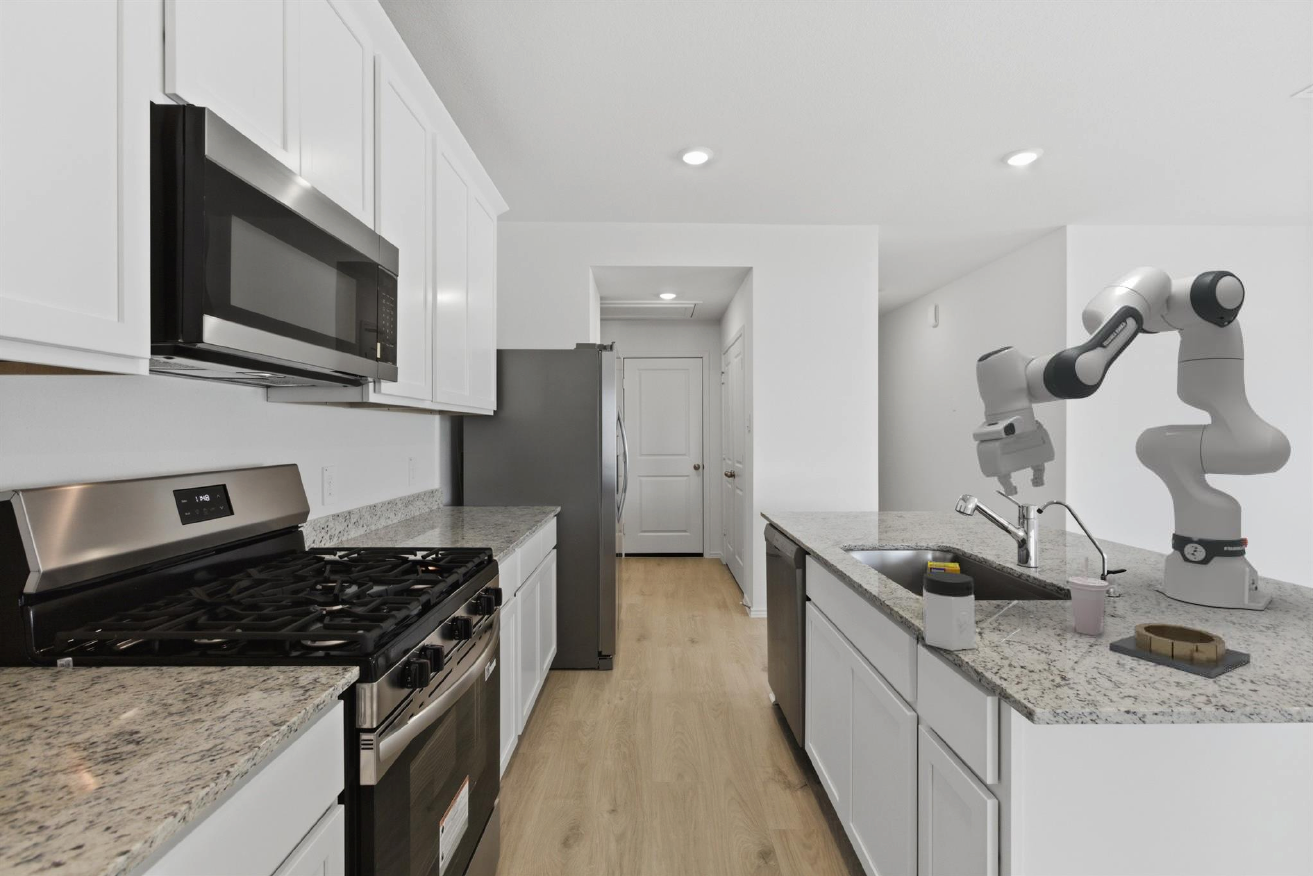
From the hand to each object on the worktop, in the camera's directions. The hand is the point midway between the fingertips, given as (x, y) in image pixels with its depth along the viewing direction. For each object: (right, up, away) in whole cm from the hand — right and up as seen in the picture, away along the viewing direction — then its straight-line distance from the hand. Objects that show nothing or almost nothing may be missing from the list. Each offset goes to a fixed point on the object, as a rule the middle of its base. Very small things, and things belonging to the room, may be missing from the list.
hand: (1025, 490), depth 128 cm
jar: (-24, -26, -17) cm, 39 cm away
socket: (+12, -26, -24) cm, 37 cm away
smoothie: (+5, -26, -11) cm, 29 cm away
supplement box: (-18, -26, -2) cm, 32 cm away
